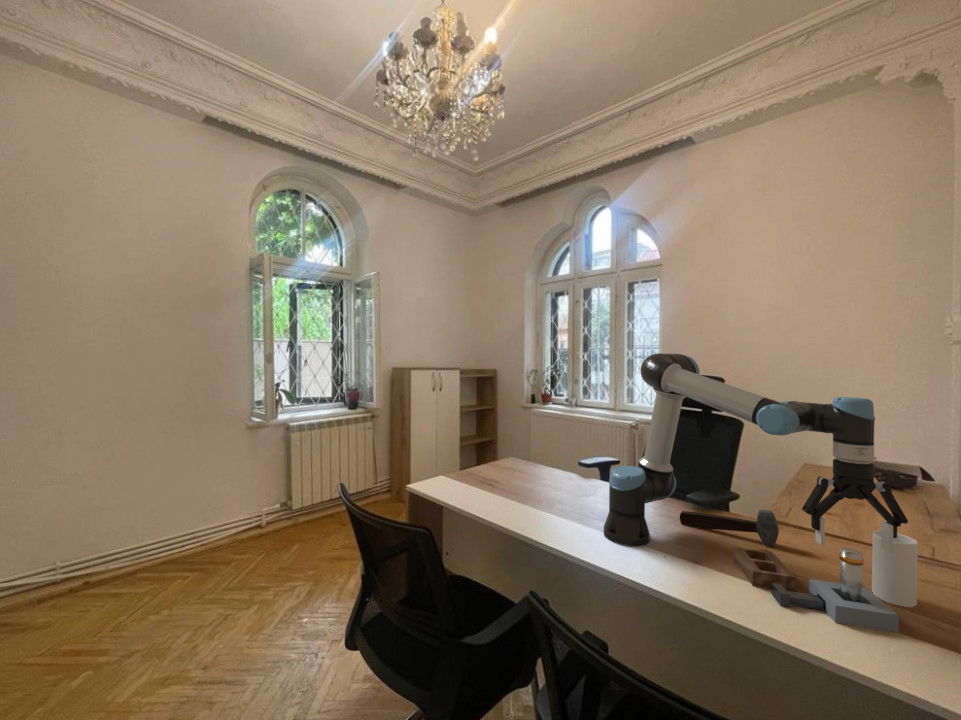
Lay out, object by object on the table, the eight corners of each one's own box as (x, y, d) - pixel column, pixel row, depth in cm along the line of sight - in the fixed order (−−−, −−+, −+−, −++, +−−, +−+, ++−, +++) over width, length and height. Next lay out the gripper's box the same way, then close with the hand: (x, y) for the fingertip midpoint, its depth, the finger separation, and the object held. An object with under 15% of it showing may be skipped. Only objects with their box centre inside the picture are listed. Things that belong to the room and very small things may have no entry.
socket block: (835, 622, 94) (835, 605, 94) (808, 594, 106) (809, 579, 106) (898, 632, 91) (898, 615, 91) (864, 602, 103) (864, 586, 103)
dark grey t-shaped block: (780, 605, 100) (780, 593, 100) (771, 594, 105) (771, 582, 105) (827, 612, 98) (828, 600, 98) (816, 601, 102) (817, 589, 102)
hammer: (681, 535, 150) (780, 549, 131) (677, 504, 151) (775, 514, 132) (683, 531, 153) (780, 544, 135) (680, 501, 154) (775, 509, 136)
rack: (752, 585, 109) (752, 571, 109) (734, 559, 124) (734, 546, 124) (795, 592, 107) (795, 577, 107) (771, 565, 121) (771, 551, 121)
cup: (863, 589, 109) (864, 530, 109) (890, 588, 109) (891, 530, 109) (897, 608, 100) (898, 544, 100) (926, 607, 101) (927, 543, 101)
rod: (845, 615, 97) (846, 554, 97) (834, 605, 101) (835, 546, 101) (867, 619, 96) (868, 556, 96) (855, 608, 100) (856, 548, 100)
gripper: (801, 459, 98) (800, 546, 98) (929, 468, 91) (929, 561, 91) (786, 453, 106) (786, 534, 105) (904, 460, 99) (904, 547, 98)
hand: (852, 546), depth 98 cm, fingers open, 13 cm apart
